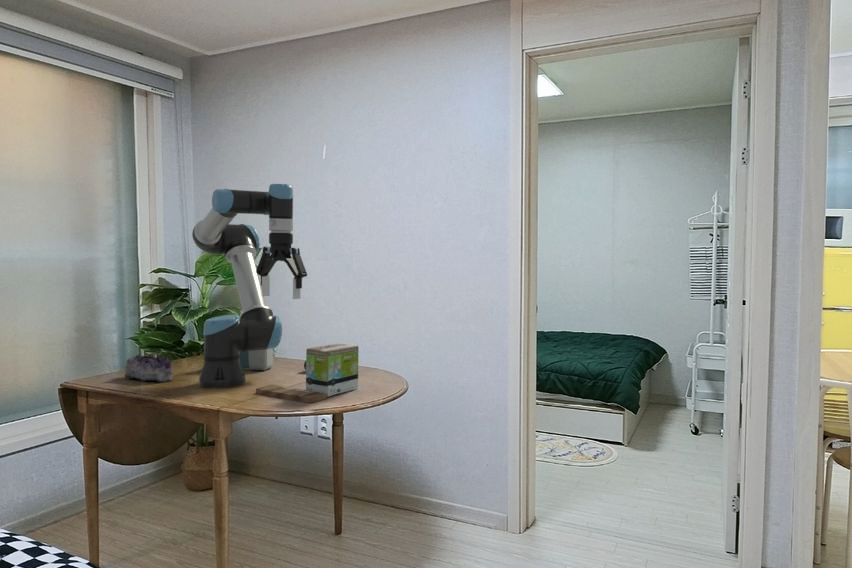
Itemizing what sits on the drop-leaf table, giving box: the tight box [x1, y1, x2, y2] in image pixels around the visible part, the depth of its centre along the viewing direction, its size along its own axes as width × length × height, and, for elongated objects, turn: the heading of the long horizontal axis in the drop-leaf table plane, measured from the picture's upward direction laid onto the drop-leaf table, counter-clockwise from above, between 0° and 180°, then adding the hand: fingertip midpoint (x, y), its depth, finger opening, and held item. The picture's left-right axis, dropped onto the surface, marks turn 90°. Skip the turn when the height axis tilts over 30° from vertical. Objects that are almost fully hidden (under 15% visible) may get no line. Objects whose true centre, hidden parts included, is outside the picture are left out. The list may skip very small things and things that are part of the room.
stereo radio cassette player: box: [240, 348, 274, 372], centre depth 232 cm, size 21×8×20 cm, turn 77°
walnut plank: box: [255, 384, 328, 404], centre depth 187 cm, size 24×7×2 cm, turn 57°
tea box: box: [305, 343, 359, 398], centre depth 193 cm, size 15×10×15 cm
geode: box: [124, 353, 174, 384], centre depth 213 cm, size 20×12×10 cm, turn 64°
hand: (280, 297), depth 194 cm, fingers open, 13 cm apart
